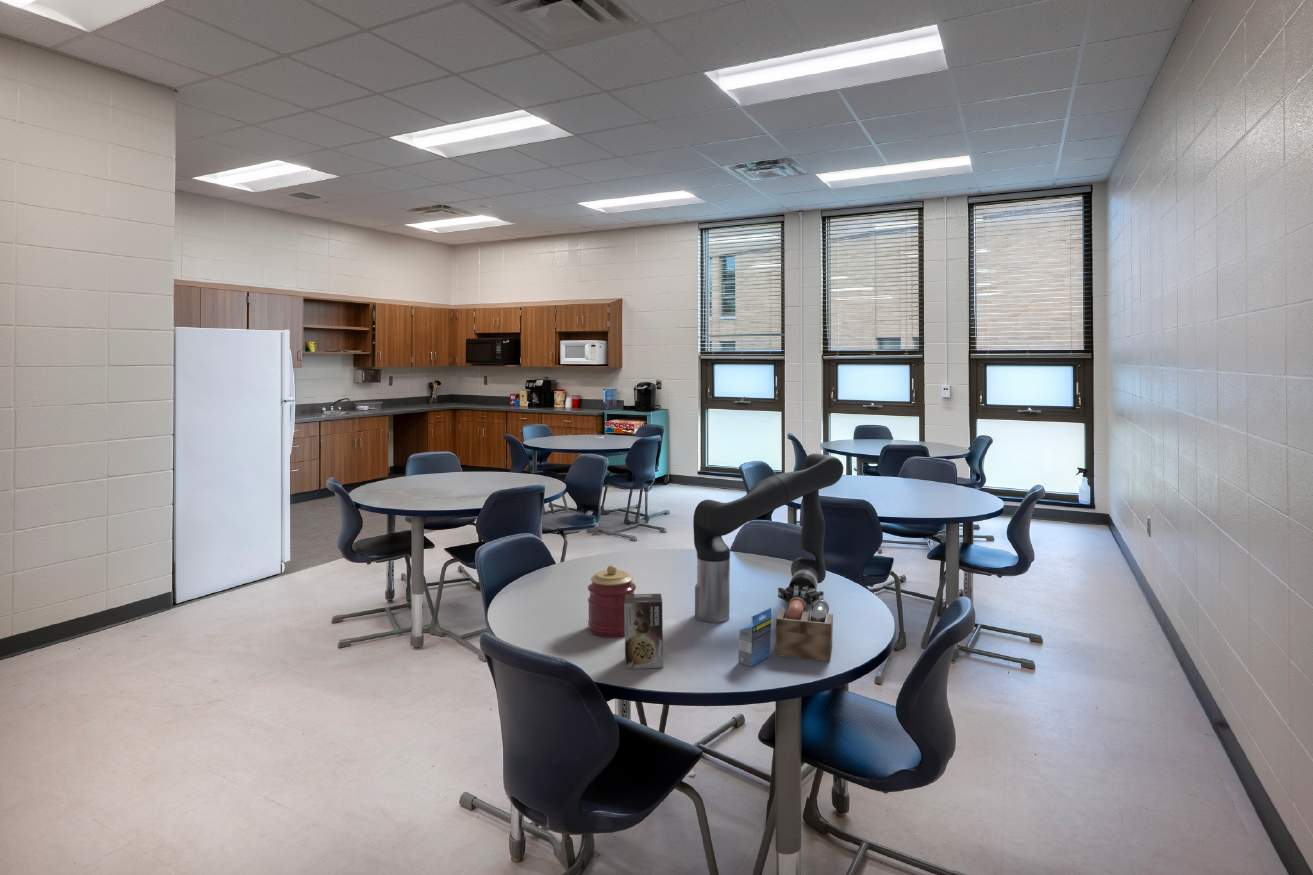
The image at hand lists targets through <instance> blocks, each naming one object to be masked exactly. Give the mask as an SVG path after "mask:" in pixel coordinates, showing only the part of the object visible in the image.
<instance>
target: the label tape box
mask: <svg viewBox="0 0 1313 875" xmlns="http://www.w3.org/2000/svg"><path fill="white" fill-rule="evenodd" d="M750 617H751V623H750V624H748V625H745V626H744V627H742V628H740V629H739V631H738V632H739V635H738V636H739V637H738V638H739V639H738V657H737V658H738V663H739V664H742V665H744V666H748V667H753V666H754V665H756V664H757V663H759V662H761V661H762V660H764V659H766V658H768V657H769V656H770V655H771V638H772V637H771V636H772V607H769V608H766V609H764V610H763V611H760V612H759V613H756V614H754V615H751V616H750ZM762 617H763V618H762ZM760 618H762V619H760Z"/></svg>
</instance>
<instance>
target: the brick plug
mask: <svg viewBox="0 0 1313 875" xmlns="http://www.w3.org/2000/svg"><path fill="white" fill-rule="evenodd" d="M787 606H788V609H787V611H786V619H792V620H801V618H802V614H803V612H806V604H805V602H804V601H803V600H802V599H801V598H798V597H795V598H792V599H791V600H790V601H789V603H788V605H787Z"/></svg>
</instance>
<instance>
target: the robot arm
mask: <svg viewBox="0 0 1313 875" xmlns="http://www.w3.org/2000/svg"><path fill="white" fill-rule="evenodd" d="M801 468H802V469H801V470H796V471H795V470H794V471H788V472H787V471H786V472H782V473H778V474H777V473H776V474H773V475H770V476H769V477H766V478H764V479H761V480H760V481H758V482H756V483H755V484H754V485H753V486H752V487H751V488H750V489H749V491H748V492H747V494H745V495H744V496H742V497H740V498H737V499H735V500H732V501H728V502H722V501H717V500H714V499H704V500H702V501H700V502H699V503H698V504H697V506H696V507H695V510H694V513H693V518H692V519H693V523H692V524H693V527H692V528H693V543H694V544H693V545H694V548H695V551H696V584H695V585H694V619H695V620H699V621H701V622H706V623H712V624H713V623H723V622H725V621H728V620H729V619H730V610H731V609H730V594H731V593H730V592H731V590H730V587H731V585H730V584H731V581H730V580H731V578H730V576H731V549H730V548H729V546H728V545H727V544H726V542H725V541H724V539H723V536H726V535H729V534H730V533H732V532H734V531H736V530H737V529H739V528H741V527H743V526H744V525H745V524H747V523H748V522H750V521H752V520H754V519H757V518H759V517H761V516H763V515H765V514H768V513H770V512H772V511H775V510H777V509H779V508H781V507H783V506H786V505H787V504H789V503H792V502H793V501H796V500H797V499H800V498H801V497H802V524H801V532H800V540H799V548H800V549H801V550H802V551H805V552H808V553H810V554H812V555H813V557H814V559H813V558H812V559H811V558H805V557H797V558H795V559H794V560H793V561H792V563H791V565H790V573H791V574H790V575H791V579H790V582H789V584H788V586H787V587H786V588H783V587H778V588H777V597H778V598H779V599H781V600H782V601H785V602H786V603H788V604H789V601H790V600H791V599H792V598H795V597H798V598H801V599H802V600H803V601H804V602H805V605H806V604H807V605H808V606H809V605H812V604H813V602H814V601H816V600H819V599H821V600H824V597H825V596H824V591H823V590H819V591H817V590H818V584H821V583H823V582H824V580H825V579H826V574H827V570H826V564H825V558H824V542H825V533H826V521H825V520H826V519H825V516H824V514H823V513H824V512H823V509H822V507H821V502H820V493H819V492H820V490H821V489H825V488H828V487H832V486H834V485H835V484H837V483H838V482H839V481H840V480H841V478H842V477H843V474H844V465H843V462H842V461H841V460H840V459H839V458H837V457H835V456H833V455H830V454H823V453H821V454H820V453H809V455H807V456H806V457H805V459H804V460H803V463H802V467H801Z"/></svg>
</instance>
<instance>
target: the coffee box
mask: <svg viewBox="0 0 1313 875" xmlns="http://www.w3.org/2000/svg"><path fill="white" fill-rule="evenodd" d="M624 618H625V636H624V663H625V664H624V669H625V670H627V669H628V670H630V669H632V670H633V669H657V668H658V669H663V668H664V641H663V638H664V637H663V632H664V631H663V622H664V620H663V598H662V593H634V594H626V595H625V597H624Z"/></svg>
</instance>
